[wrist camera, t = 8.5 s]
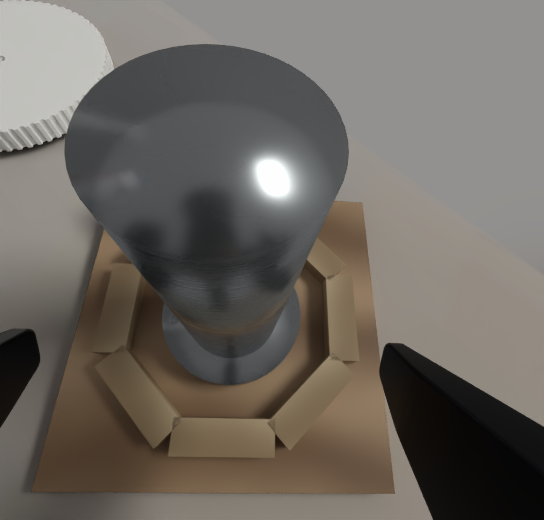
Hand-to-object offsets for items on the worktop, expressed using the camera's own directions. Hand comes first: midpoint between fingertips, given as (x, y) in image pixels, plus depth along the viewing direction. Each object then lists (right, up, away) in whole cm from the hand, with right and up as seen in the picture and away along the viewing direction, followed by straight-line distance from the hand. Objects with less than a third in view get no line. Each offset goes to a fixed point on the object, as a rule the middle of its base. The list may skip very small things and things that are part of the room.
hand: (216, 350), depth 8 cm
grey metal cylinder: (-1, -1, +9) cm, 9 cm away
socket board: (-1, -1, +10) cm, 10 cm away
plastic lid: (-18, +15, +16) cm, 28 cm away
